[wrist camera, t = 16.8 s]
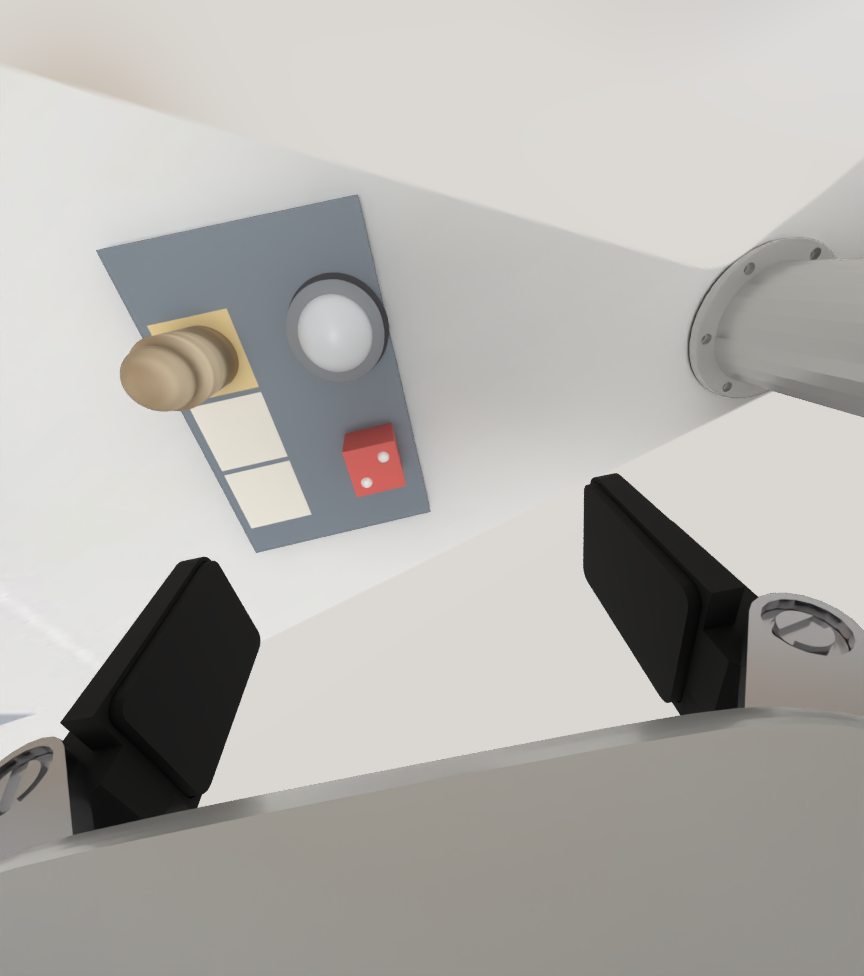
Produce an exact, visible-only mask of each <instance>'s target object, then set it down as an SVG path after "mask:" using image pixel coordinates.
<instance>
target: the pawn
mask: <svg viewBox="0 0 864 976" xmlns="http://www.w3.org/2000/svg"><path fill="white" fill-rule="evenodd" d="M238 367H239V360H238V356H237V352H236V350H235V348H234V346H233V345H232V343H231V342H230V341H229V340H228V339H227V338H226V337H225V336H224V335H223V334H222V333H220V332H219V331H217V330H215V329H213V328H210V327H206V326H191V327H187V328H183V329H179V330H175V331H171V332H166V333H162V334H158V335H154V336H150V337H146V338H144V339H142V340H140V341H138V342H137V343H136V344H135V345H134V346H133V347H132V349H131V351H130V353H129V354H128V355H127V356H126V357H125V359H124V360H123V362H122V364H121V367H120V380H121V383H122V386H123V388H124V390H125V391H126V393H127V394H128V395H129V396H130V397H131V398H132V399H133V400H134V401H135V402H137V403H138V404H140V405H142V406H144V407H146V408H148V409H151V410H155V411H185V410H189V409H192V408H195V407H196V406H198V405H200V404H201V403H202V402H204V401H205V400H207V399H208V398H209V397H211V396H212V395H214V394H215V393H216V392H218V391H219V390H221V389H222V388H223V387H225V386H226V385H228V384H229V383H230V382H231V381H232V380H233V379H234V378H235V376H236V374H237V372H238Z"/></svg>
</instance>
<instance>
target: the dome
mask: <svg viewBox="0 0 864 976" xmlns="http://www.w3.org/2000/svg"><path fill="white" fill-rule="evenodd" d="M286 334H287V339H288V343H289V346H290V348H291V350H292V352H293V354H294V356H295V357H296V359H297V360H298V361H299V363H300V364H301V365H302V366H303V367H304V368H305V369H307V370H308V371H309V372H310V373H312V374H313V375H315V376H317V377H319V378H321V379H324V380H327V381H332V382H348V381H352V380H356V379H358V378H360V377H362V376H364V375H365V374H367V373H368V372H369V371H370V370H371V369H372V368H373V367H374V366H375V364H376V363H377V361H378V360H379V358H380V356H381V353H382V350H383V346H384V337H385V336H384V326H383V321H382V317H381V314H380V312H379V310H378V307H377V306H376V304H375V302H374V301H373V300H372V298H371V297H370V296H369V295H368V294H367V293H366V292H365V291H364V290H362V289H361V288H359V287H358V286H356V285H354V284H352V283H350V282H347V281H344V280H338V279H328V280H321V281H317V282H314V283H312V284H310V285H308V286H306V287H305V288H304V289H302V290H301V291H300V292H299V293H298V294H297V295H296V297H295V298H294V299H293V301H292V303H291V305H290V307H289V310H288V313H287V317H286Z"/></svg>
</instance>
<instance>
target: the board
mask: <svg viewBox="0 0 864 976" xmlns="http://www.w3.org/2000/svg"><path fill="white" fill-rule="evenodd" d="M96 251H97V253H98V255H99V257H100V259H101V261H102V263H103V265H104V266H105V268H106V270H107V272H108V274H109V276H110V278H111V280H112V282H113V283H114V285H115V287H116V289H117V291H118V293H119V295H120V297H121V299H122V300H123V302H124V304H125V306H126V308H127V310H128V312H129V314H130V316H131V317H132V319H133V321H134V323H135V325H136V327H137V329H138V331H139V333H140V334H141V336H142V338H143V339H144V338H146V337H150V336H154V335H158V334H162V333H166V332H171V331H175V330H179V329H183V328H187V327H191V326H206V327H210V328H213V329H215V330H217V331H219V332H220V333H222V334H223V335H224V336H225V337H226V338H227V339H228V340H229V341H230V342H231V343H232V345H233V346H234V348H235V350H236V352H237V356H238V360H239V367H238V372H237V374H236V376H235V378H234V379H233V380H232V381H231V382H230V383H229V384H228V385H226V386H225V387H223V388H222V389H221V390H219V391H218V392H216V393H215V394H214V395H212V396H211V397H209V398H208V399H207V400H205V401H204V402H202V403H201V404H200V405H198V406H196V407H195V408H192V409H189V410H185V411H181V412H182V414H183V416H184V418H185V420H186V421H187V423H188V425H189V427H190V429H191V431H192V433H193V435H194V437H195V438H196V440H197V442H198V444H199V446H200V448H201V450H202V452H203V454H204V455H205V457H206V459H207V461H208V463H209V465H210V467H211V469H212V471H213V472H214V474H215V476H216V478H217V480H218V482H219V484H220V486H221V488H222V489H223V491H224V493H225V495H226V497H227V499H228V501H229V503H230V505H231V506H232V508H233V510H234V512H235V514H236V516H237V518H238V520H239V522H240V523H241V525H242V527H243V529H244V531H245V533H246V535H247V537H248V539H249V540H250V542H251V544H252V546H253V548H254V550H255V552H256V553H258V552H262V551H266V550H270V549H275V548H279V547H283V546H287V545H292V544H296V543H300V542H304V541H309V540H313V539H317V538H321V537H326V536H330V535H334V534H338V533H343V532H347V531H351V530H355V529H359V528H364V527H368V526H372V525H376V524H381V523H385V522H389V521H393V520H398V519H402V518H406V517H410V516H415V515H419V514H423V513H427V512H430V508H429V503H428V499H427V494H426V490H425V486H424V481H423V477H422V473H421V468H420V464H419V460H418V455H417V451H416V447H415V442H414V438H413V433H412V429H411V425H410V420H409V416H408V412H407V407H406V403H405V399H404V394H403V390H402V386H401V381H400V377H399V372H398V368H397V364H396V359H395V355H394V351H393V346H392V342H391V338H390V333H389V324H388V318H387V315H386V311H385V309H384V307H383V303H382V298H381V294H380V290H379V285H378V281H377V277H376V272H375V268H374V264H373V259H372V255H371V251H370V246H369V242H368V237H367V233H366V229H365V224H364V220H363V216H362V211H361V207H360V203H359V198H358V194H357V195H352V196H348V197H343V198H338V199H334V200H329V201H324V202H320V203H315V204H310V205H306V206H301V207H296V208H292V209H287V210H282V211H278V212H273V213H268V214H264V215H259V216H254V217H249V218H245V219H240V220H235V221H231V222H226V223H221V224H217V225H212V226H207V227H203V228H198V229H193V230H189V231H184V232H179V233H175V234H170V235H165V236H161V237H156V238H151V239H147V240H142V241H137V242H133V243H128V244H123V245H118V246H114V247H109V248H104V249H100V250H96ZM328 279H338V280H344V281H347V282H350V283H352V284H354V285H356V286H358V287H359V288H361V289H362V290H364V291H365V292H366V293H367V294H368V295H369V296H370V297H371V298H372V300H373V301H374V302H375V304H376V306H377V307H378V310H379V312H380V314H381V317H382V321H383V326H384V336H385V337H384V346H383V350H382V353H381V356H380V358H379V360H378V361H377V363H376V364H375V366H374V367H373V368H372V369H371V370H370V371H369V372H368V373H367V374H365V375H364V376H362V377H360V378H358V379H356V380H352V381H348V382H332V381H327V380H324V379H321V378H319V377H317V376H315V375H313V374H312V373H310V372H309V371H308V370H307V369H305V368H304V367H303V366H302V365H301V364H300V363H299V361H298V360H297V359H296V357H295V356H294V354H293V352H292V350H291V348H290V346H289V343H288V339H287V334H286V317H287V313H288V310H289V307H290V305H291V303H292V301H293V299H294V298H295V297H296V295H297V294H298V293H299V292H300V291H301V290H302V289H304V288H305V287H306V286H308V285H310V284H312V283H314V282H317V281H321V280H328Z"/></svg>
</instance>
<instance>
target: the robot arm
mask: <svg viewBox="0 0 864 976" xmlns="http://www.w3.org/2000/svg"><path fill="white" fill-rule="evenodd" d="M690 361H691V366H692V370H693V372H694V374H695V376H696V378H697V379H698V381H699V382H700V383H701V384H702V385H703V386H704V387H705V388H707V389H708V390H710V391H711V392H714V393H716V394H719V395H722V396H726V397H731V398H745V397H750V396H754V395H758V394H760V393H763V392H765V391H768V390H771V391H775V392H778V393H782V394H785V395H789V396H792V397H795V398H799V399H802V400H806V401H809V402H813V403H816V404H820V405H823V406H826V407H830V408H833V409H837V410H841V411H844V412H847V413H851V414H854V415H858V416H861V417H864V258H851V259H836V258H835V256H834V254H833V252H832V251H831V250H830V249H828V248H827V247H826V246H825V245H824V244H822V243H820V242H818V241H816V240H814V239H809V238H803V237H797V238H784V239H779V240H775V241H770V242H768V243H766V244H763V245H761V246H759V247H756V248H754V249H753V250H751V251H750V252H748V253H747V254H745V255H744V256H742V257H741V258H739V259H738V260H737V261H736V262H735V263H734V264H732V265H731V266H730V267H729V268H728V269H727V270H726V271H725V272H724V273H723V274H722V276H721V277H720V278H719V279H718V280H717V281H716V282H715V284H714V285H713V287H712V288H711V290H710V291H709V293H708V294H707V296H706V297H705V299H704V301H703V303H702V305H701V307H700V309H699V311H698V313H697V315H696V318H695V321H694V324H693V327H692V332H691V338H690ZM583 550H584V551H583V557H584V558H583V568H584V574H585V577H586V579H587V581H588V583H589V585H590V586H591V588H592V589H593V591H594V593H595V594H596V596H597V597H598V599H599V600H600V602H601V604H602V605H603V607H604V608H605V610H606V611H607V613H608V615H609V616H610V618H611V620H612V621H613V623H614V624H615V626H616V628H617V629H618V631H619V632H620V634H621V635H622V637H623V638H624V640H625V642H626V643H627V645H628V646H629V648H630V650H631V651H632V653H633V654H634V656H635V658H636V659H637V661H638V662H639V664H640V666H641V667H642V669H643V670H644V672H645V673H646V675H647V677H648V678H649V680H650V681H651V683H652V685H653V686H654V688H655V689H656V691H657V693H658V694H659V696H660V697H661V698H662V699H663V700H664V701H665V702H666V703H669V702H672V703H673V704H674V706H675V707H676V709H677V711H678V712H679V714H680V715H681V716H675V717H669V718H663V719H657V720H651V721H646V722H640V723H634V724H628V725H622V726H617V727H611V728H605V729H599V730H594V731H589V732H584V733H578V734H573V735H568V736H562V737H557V738H552V739H547V740H541V741H536V742H531V743H526V744H521V745H515V746H510V747H505V748H499V749H494V750H489V751H484V752H478V753H473V754H468V755H462V756H457V757H452V758H447V759H442V760H437V761H432V762H427V763H421V764H417V765H412V766H406V767H401V768H396V769H391V770H386V771H380V772H375V773H370V774H365V775H361V776H355V777H350V778H345V779H340V780H335V781H329V782H325V783H319V784H314V785H309V786H304V787H299V788H294V789H289V790H284V791H279V792H274V793H269V794H264V795H260V796H254V797H249V798H245V799H239V800H234V801H230V802H225V803H219V804H215V805H210V806H205V807H200V808H197V807H198V804H199V801H200V799H201V796H202V794H204V793H205V792H206V791H207V790H208V788H209V787H210V785H211V782H212V780H213V777H214V774H215V771H216V768H217V766H218V763H219V760H220V757H221V754H222V752H223V749H224V746H225V743H226V740H227V737H228V735H229V732H230V729H231V726H232V723H233V721H234V718H235V715H236V712H237V709H238V706H239V703H240V701H241V698H242V695H243V692H244V690H245V687H246V684H247V681H248V678H249V675H250V673H251V670H252V667H253V664H254V661H255V658H256V656H257V653H258V650H259V647H260V635H259V632H258V630H257V629H256V627H255V625H254V624H253V622H252V620H251V618H250V617H249V615H248V613H247V612H246V610H245V608H244V606H243V605H242V603H241V601H240V600H239V598H238V596H237V595H236V593H235V591H234V589H233V588H232V586H231V584H230V583H229V581H228V579H227V577H226V576H225V574H224V572H223V571H222V569H221V567H220V566H219V564H218V563H217V562H216V561H211V560H210V559H209V558H207V557H200V558H196V559H191V560H186V561H182V562H179V563H178V564H177V565H176V567H175V568H174V569H173V571H172V572H171V573H170V575H169V576H168V578H167V579H166V580H165V582H164V583H163V584H162V586H161V587H160V588H159V590H158V591H157V592H156V594H155V595H154V596H153V598H152V599H151V601H150V602H149V603H148V605H147V606H146V607H145V609H144V610H143V611H142V613H141V614H140V615H139V617H138V618H137V620H136V621H135V622H134V624H133V625H132V626H131V628H130V629H129V630H128V632H127V633H126V634H125V636H124V637H123V638H122V640H121V641H120V643H119V644H118V645H117V647H116V648H115V649H114V651H113V652H112V653H111V655H110V656H109V657H108V659H107V660H106V662H105V663H104V664H103V666H102V667H101V668H100V670H99V671H98V672H97V674H96V675H95V676H94V678H93V679H92V680H91V682H90V683H89V685H88V686H87V687H86V689H85V690H84V691H83V693H82V694H81V695H80V697H79V698H78V699H77V701H76V702H75V704H74V705H73V706H72V708H71V709H70V710H69V712H68V713H67V714H66V716H65V717H64V718H63V720H62V721H61V722H60V723H61V724H62V725H63V726H64V727H65V728H67V729H68V730H69V731H70V732H69V733H68V735H67V736H66V737H65V739H64V740H63V741H62V740H61V739H58V738H56V737H46V738H41V739H38V740H36V741H33V742H30V743H28V744H26V745H24V746H23V747H21V748H19V749H17V750H16V751H14V752H12V753H11V754H9V755H8V756H7V757H5V758H4V759H3V760H1V761H0V976H864V630H862V628H861V627H860V626H859V625H858V624H857V623H856V622H855V621H854V620H853V619H852V618H850V617H849V616H847V615H846V614H844V613H843V612H841V611H840V610H838V609H837V608H834V607H832V606H830V605H828V604H826V603H824V602H822V601H819V600H816V599H813V598H810V597H806V596H803V595H797V594H791V593H770V594H767V595H763V596H760V597H758V596H756V595H755V594H754V593H753V592H752V591H751V590H750V589H749V588H747V587H746V586H745V585H744V584H743V583H742V582H741V581H740V580H738V579H737V578H736V577H735V576H734V575H733V574H732V573H731V572H729V571H728V570H727V569H726V568H725V567H724V566H723V565H722V564H720V563H719V562H718V561H717V560H716V559H715V558H714V557H713V556H711V555H710V554H709V553H708V552H707V551H706V550H705V549H704V548H702V547H701V546H700V545H699V544H698V543H696V542H695V540H693V539H692V538H691V537H690V536H689V535H688V534H686V533H685V532H684V531H683V530H682V529H681V528H680V527H679V526H677V525H676V524H675V523H674V522H673V521H671V520H670V519H669V518H667V517H666V516H665V515H664V514H663V513H662V512H661V511H660V510H659V509H657V508H656V507H655V506H654V505H653V504H652V503H651V502H650V501H649V500H647V499H646V498H645V497H644V496H643V495H642V494H641V493H640V492H638V491H637V490H636V489H635V488H634V487H633V486H632V485H631V484H629V483H628V482H627V481H626V480H625V479H623V477H622V476H620V475H619V474H617V473H614V474H609V475H604V476H599V477H594V478H593V479H592V480H591V483H590V484H589V485H586V486H585V488H584V547H583Z"/></svg>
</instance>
